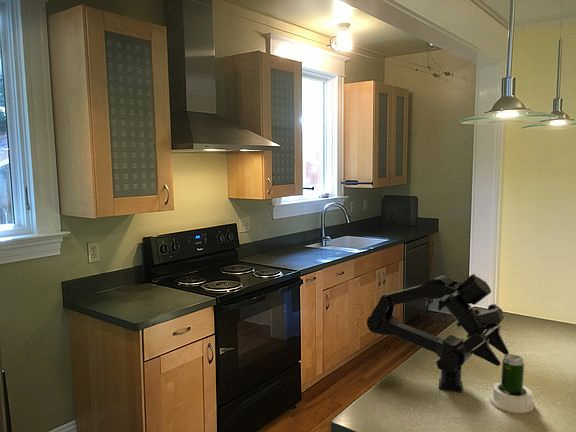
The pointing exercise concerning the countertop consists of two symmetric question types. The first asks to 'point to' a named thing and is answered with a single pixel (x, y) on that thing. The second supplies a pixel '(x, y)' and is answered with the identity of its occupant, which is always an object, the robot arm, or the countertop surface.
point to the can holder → (512, 400)
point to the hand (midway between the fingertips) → (503, 359)
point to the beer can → (512, 375)
